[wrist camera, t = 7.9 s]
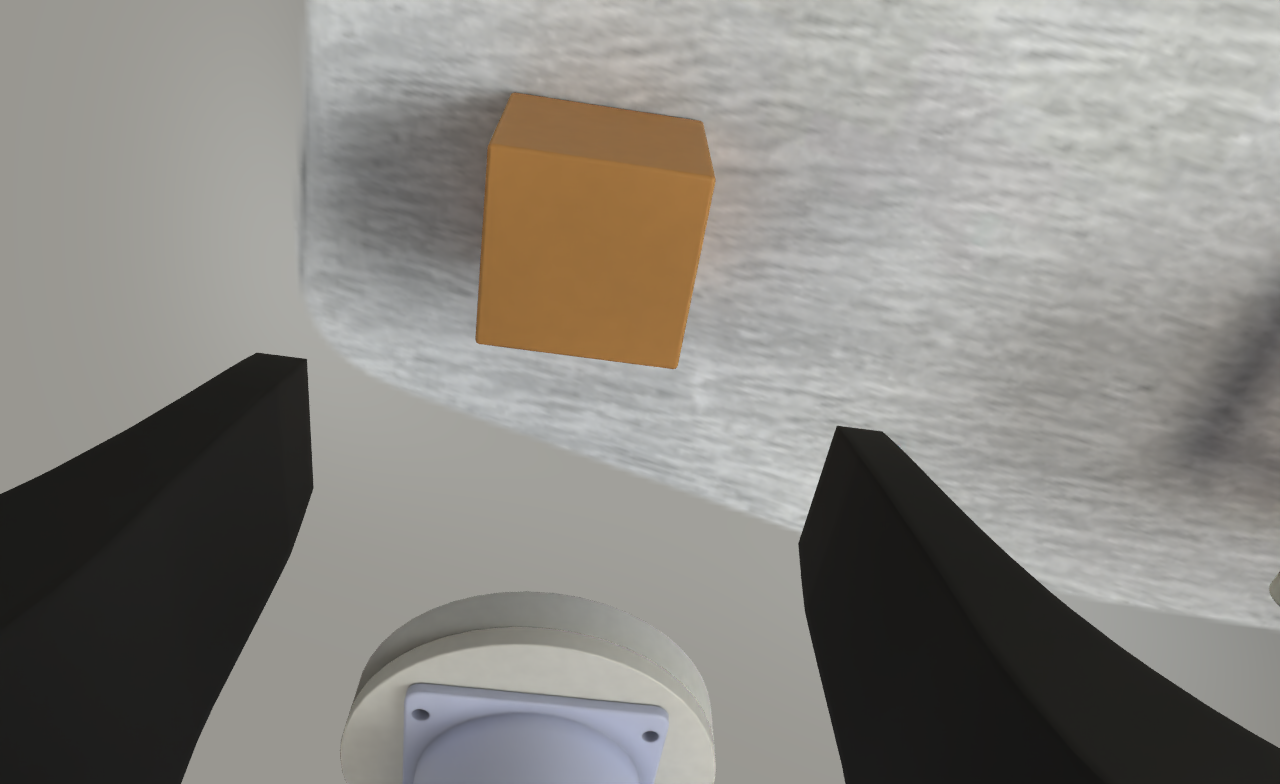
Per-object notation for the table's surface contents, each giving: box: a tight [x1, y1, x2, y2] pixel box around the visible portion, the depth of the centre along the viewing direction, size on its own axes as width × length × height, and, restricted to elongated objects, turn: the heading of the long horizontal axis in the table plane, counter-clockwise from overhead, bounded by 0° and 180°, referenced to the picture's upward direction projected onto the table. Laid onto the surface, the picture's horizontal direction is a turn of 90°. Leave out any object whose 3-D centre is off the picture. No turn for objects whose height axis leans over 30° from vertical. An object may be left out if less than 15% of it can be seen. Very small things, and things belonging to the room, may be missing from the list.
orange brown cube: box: [475, 93, 715, 369], centre depth 18 cm, size 4×4×4 cm
